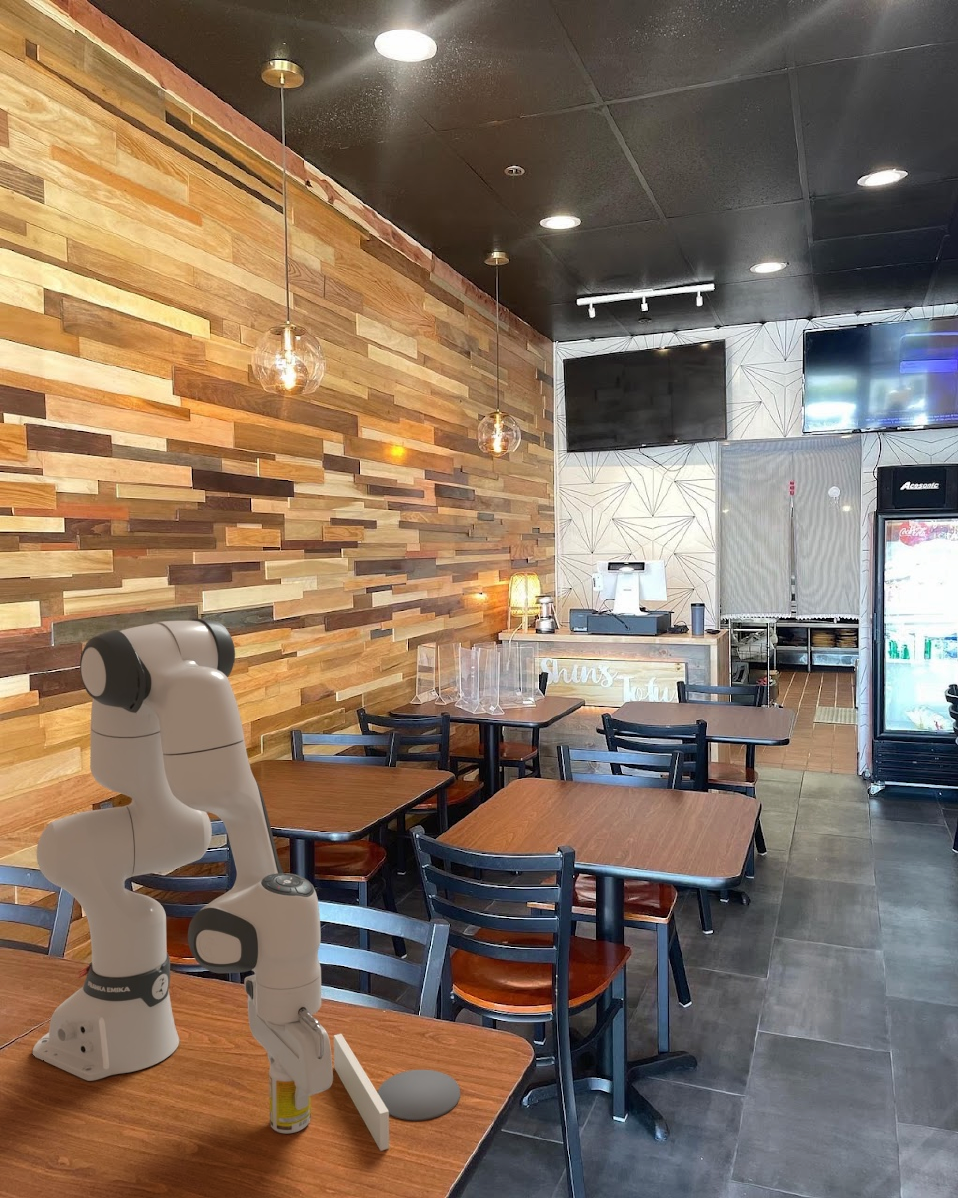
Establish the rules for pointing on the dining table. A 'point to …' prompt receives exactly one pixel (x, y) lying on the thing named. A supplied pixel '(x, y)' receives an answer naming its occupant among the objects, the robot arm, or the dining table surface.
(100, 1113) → the dining table surface
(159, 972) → the robot arm
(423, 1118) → the rest mat
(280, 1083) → the supplement bottle
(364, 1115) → the low wall
